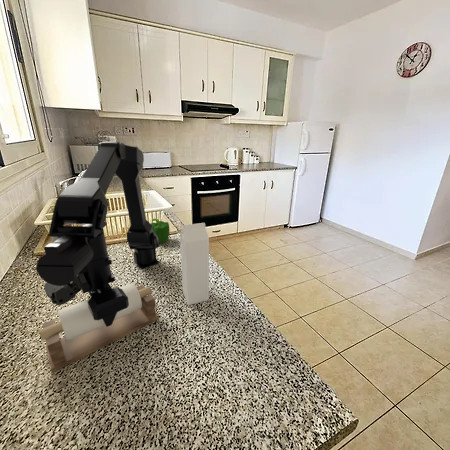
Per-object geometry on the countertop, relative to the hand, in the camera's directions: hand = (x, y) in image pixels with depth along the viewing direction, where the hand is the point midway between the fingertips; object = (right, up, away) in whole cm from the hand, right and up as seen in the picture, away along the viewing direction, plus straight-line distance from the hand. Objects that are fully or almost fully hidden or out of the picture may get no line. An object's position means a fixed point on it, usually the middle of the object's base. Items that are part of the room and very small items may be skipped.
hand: (104, 316), depth 53 cm
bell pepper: (0, +13, +47) cm, 49 cm away
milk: (+19, 0, +14) cm, 24 cm away
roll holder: (0, -4, +2) cm, 5 cm away
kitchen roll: (0, +2, -1) cm, 2 cm away
